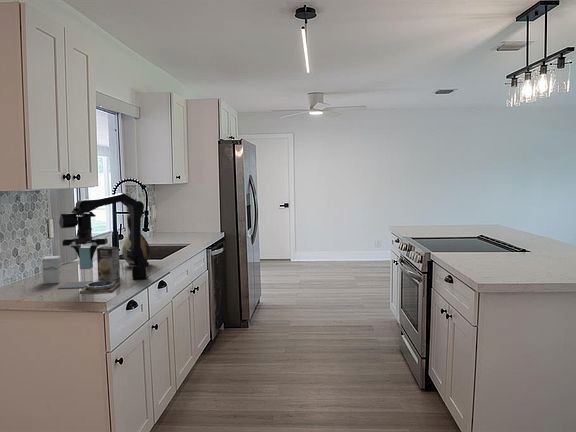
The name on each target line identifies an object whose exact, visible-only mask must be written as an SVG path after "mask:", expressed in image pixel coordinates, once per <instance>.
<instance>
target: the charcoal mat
mask: <svg viewBox="0 0 576 432" xmlns="http://www.w3.org/2000/svg"><path fill="white" fill-rule="evenodd" d="M91 282H94V281H92V280H88V281H87V280H86V281H85V280H82V281H80V280H79V281H66V282H65V283H63V284H62V285H60V286H59V287H57V289H58V290H65V289H66V290H69V289H83V288H85V287H86V284H88V283H91Z"/></svg>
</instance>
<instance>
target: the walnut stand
mask: <svg viewBox="0 0 576 432" xmlns="http://www.w3.org/2000/svg"><path fill="white" fill-rule="evenodd" d="M120 285H121V283H120V282H115V286H114V287H113V288H111V289H108V290H86V287H85V288H81V290H80V291H79V294H99V293H98V292H108V293H113V292H114V291H116V289H118V287H119V286H120Z"/></svg>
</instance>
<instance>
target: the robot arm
mask: <svg viewBox="0 0 576 432" xmlns="http://www.w3.org/2000/svg"><path fill="white" fill-rule="evenodd" d="M117 203H121V204H122V205H124V206H125V207H127V211H128V216H129V215H130V217H131V248H130V250H127V257H126V258H128V261H129V262H130V263H131V264H132V266H134V267H132V270H131V275H132V276H131V277H132V280H147V278H148V277H149V276H148V267H149V265H150V263H149V261H148V260H147V261H146V260H145V259H144V254H143V251H142V248H141V234H142V233H141V232H142V231H141V230H142V229H141V227H142V222H141V221H142V217H143V215H144V210H145V209H144V208H145V204H144V203H143V202H142V201H140V200H137V199H134V198H133V197H131V196H129V195H127V194H126V193H124V192H123V193H120V192H119V193H117V194H112V195H108V196H104V197H100V198H99V197H98V198H94V199H93V198H92V199H91V198H90V199H89V198H88V199H87V198H86V199H79V200H77V201H76V203H75V207H74V208H73V209H72V211H71V212H70V213H68V212H67V213H60V217H59V220H58V223H59V227H60V229H73V228H74V229H75V228H76V226H77V231H76V232H77V233H76V234H75V236H74V237H71V238H69V237H68V238H64V239H63V240H62V243H61V244H62V246H64V247H67V246H68V247H70V248H72V249H74V250H75V253H76V255H77V257H78V258H79V248H80V247H82V245H83V246H84V245H87V244H91V245H90V247H91V260H92V259H93V258H94V256H95V253H96V251H97V248H98V247H99V246H104V245H105V246H106V245H107V244H108V240H109V239H108V237H97V238H93V235H92V230H93V228H92V217H93V218H95V217H96V214H95V213H94V212H93V210H96V209H97V208H98V209H99V208H100V207H103V206H108V205H114V204H117ZM79 260H80V258H79ZM93 260H94V259H93Z"/></svg>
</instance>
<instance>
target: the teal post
mask: <svg viewBox="0 0 576 432" xmlns="http://www.w3.org/2000/svg"><path fill="white" fill-rule="evenodd" d="M90 246H91V245H90ZM90 246H81V247H80V248H79V257H78V258H80V259H79V270H91V269H92V268H93V267H94V263H93V260H94V259H92V260H91V247H90Z"/></svg>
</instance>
